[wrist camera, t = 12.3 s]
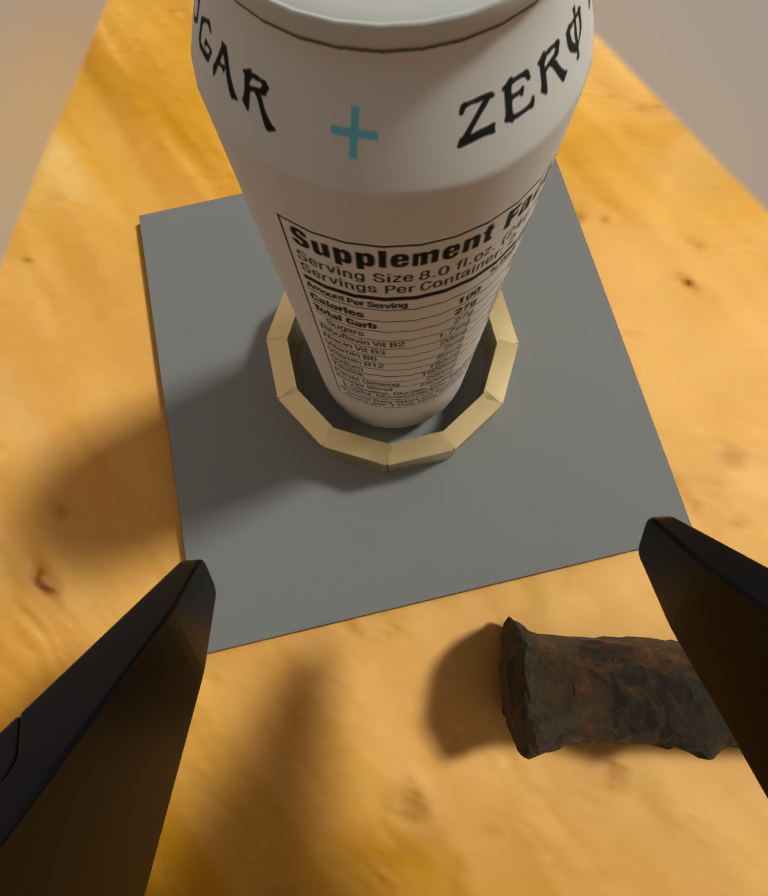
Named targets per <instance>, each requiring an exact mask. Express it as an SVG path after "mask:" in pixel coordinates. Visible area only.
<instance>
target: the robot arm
mask: <svg viewBox="0 0 768 896" xmlns="http://www.w3.org/2000/svg"><path fill="white" fill-rule="evenodd" d="M639 556H640V559H641V561H642V564H643V566H644V568H645V571H646V573H647V575H648V577H649V580H650V582H651V584H652V587H653V589H654V591H655V593H656V596H657V598H658V600H659V603H660V605H661V607H662V609H663V612H664V614H665V616H666V618H667V620H668V623H669V625H670V627H671V629H672V631H673V632H674V634H675V636H676V638H677V640H678V642H679V643H680V645H681V647H682V649H683V650H684V652H685V654H686V656H687V657H688V659H689V661H690V663H691V664H692V666H693V668H694V670H695V671H696V673H697V675H698V677H699V678H700V680H701V682H702V684H703V685H704V687H705V689H706V691H707V693H708V694H709V696H710V698H711V700H712V701H713V703H714V705H715V707H716V708H717V710H718V712H719V714H720V715H721V717H722V719H723V721H724V722H725V724H726V726H727V728H728V729H729V731H730V733H731V735H732V736H733V738H734V740H735V742H736V743H737V745H738V747H739V749H740V751H741V752H742V754H743V756H744V758H745V759H746V761H747V763H748V765H749V766H750V768H751V770H752V772H753V773H754V775H755V777H756V779H757V780H758V782H759V784H760V786H761V787H762V789H763V791H764V793H765V794H766V796H767V798H768V568H767V567H765V566H763V565H761V564H760V563H758V562H756V561H754V560H752V559H750V558H748V557H747V556H745V555H743V554H741V553H739V552H737V551H735V550H734V549H732V548H730V547H728V546H726V545H724V544H723V543H721V542H719V541H717V540H715V539H713V538H711V537H710V536H708V535H706V534H704V533H702V532H700V531H699V530H697V529H695V528H693V527H691V526H689V525H687V524H686V523H684V522H682V521H680V520H678V519H676V518H674V517H672V516H660V517H651V518H649V519H648V520H647V522H646V524H645V527H644V531H643V534H642V537H641V540H640V544H639ZM215 599H216V589H215V585H214V582H213V580H212V578H211V575H210V573H209V570H208V568H207V566H206V564H205V562H204V561H203V560H201V559H196V560H185V561H182V562H180V563H179V564H178V565H177V566H176V567H175V568H173V569H172V570H171V571H170V572H169V573H168V574H167V575H166V576H165V577H164V578H163V579H162V580H161V581H160V582H159V583H158V584H157V585H156V586H155V587H153V588H152V589H151V590H150V591H149V592H148V593H147V594H146V595H145V596H144V597H143V598H142V599H141V600H140V601H139V602H138V603H137V604H136V605H135V606H133V607H132V608H131V609H130V610H129V611H128V612H127V613H126V614H125V615H124V616H123V617H122V618H121V619H120V620H119V621H118V622H117V623H116V624H115V625H113V626H112V627H111V628H110V629H109V630H108V631H107V632H106V633H105V634H104V635H103V636H102V637H101V638H100V639H99V640H98V641H97V642H96V643H95V644H93V645H92V646H91V647H90V648H89V649H88V650H87V651H86V652H85V653H84V654H83V655H82V656H81V657H80V658H79V659H78V660H77V661H76V662H75V663H73V664H72V665H71V666H70V667H69V668H68V669H67V670H66V671H65V672H64V673H63V674H62V675H61V676H60V677H59V678H58V679H57V680H56V681H55V682H53V683H52V684H51V685H50V686H49V687H48V688H47V689H46V690H45V691H44V692H43V693H42V694H41V695H40V696H39V697H38V698H37V699H36V700H35V701H33V702H32V703H31V704H30V705H29V706H28V707H27V708H26V709H25V710H24V711H23V712H22V713H21V716H20V717H17V718H15V719H14V720H13V721H12V722H11V723H10V724H9V725H8V726H7V727H6V728H5V729H4V730H3V731H2V732H1V733H0V896H144V895H145V891H146V888H147V884H148V880H149V877H150V873H151V869H152V865H153V862H154V858H155V854H156V850H157V847H158V843H159V839H160V835H161V832H162V828H163V824H164V820H165V817H166V813H167V809H168V805H169V802H170V798H171V794H172V790H173V787H174V783H175V779H176V776H177V772H178V768H179V764H180V761H181V757H182V753H183V749H184V746H185V742H186V738H187V734H188V731H189V727H190V723H191V719H192V716H193V712H194V708H195V704H196V701H197V697H198V693H199V689H200V686H201V682H202V678H203V674H204V669H205V664H206V658H207V651H208V645H209V638H210V632H211V625H212V619H213V612H214V606H215Z"/></svg>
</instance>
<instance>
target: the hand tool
mask: <svg viewBox="0 0 768 896" xmlns="http://www.w3.org/2000/svg"><path fill="white" fill-rule="evenodd" d="M500 684H501V694H502V702H503V706H502V713H503V715H504V716H505V717H506V723H507V727H508V729H509V731H510V733H511V735H512V738H513V740H514V742H515V744H516V747H517V750H518V751H519V753H520V754H521V755H522V756H523V757H525V758H527V759H531V758H534V757H536V756H539V755H541V754H543V753H546V752H553V751H556V750H559V749H560V748H562V747H563V746H564V745H565V744H570V743H575V742H608V743H616V744H623V743H639V744H650V745H654V746H657V747H661V748H665V749H671V748H674V747H676V748H679V749H681V750H685V751H687V752H689V753H690V754H692V755H694V756H696V757H698V758H701V759H706V760H711V759H714V758H715V757H716V755H717V754H718V753H719V752H720V751H721V750H722V749H726V748H729V747H734V748H739V747H738V745H737V743H736V742H735V740H734V738H733V736H732V735H731V733H730V731H729V729H728V728H727V726H726V724H725V722H724V721H723V719H722V717H721V715H720V714H719V712H718V710H717V708H716V707H715V705H714V703H713V701H712V700H711V698H710V696H709V694H708V693H707V691H706V689H705V687H704V685H703V684H702V682H701V680H700V678H699V677H698V675H697V673H696V671H695V670H694V668H693V666H692V664H691V663H690V661H689V659H688V657H687V656H686V654H685V652H684V650H683V649H682V647H681V645H680V643H679V642H678V641H674V640H666V641H664V640H659V639H653V638H643V637H628V636H627V637H620V638H618V637H605V636H603V637H598V638H586V637H566V636H557V635H547V634H536V633H534V632H531V631H528V630H527V629H526V628H525V627H524V626H523V625H522V624H520V623H519V622H517V621H514V620H513V619H512V618H511V617H508V618H507V620H506V621H505V622H504V624H503V631H502V635H501V659H500Z"/></svg>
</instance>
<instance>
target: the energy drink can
mask: <svg viewBox="0 0 768 896" xmlns="http://www.w3.org/2000/svg"><path fill="white" fill-rule="evenodd" d="M593 36H594V18H593V9H592V0H194V8H193V23H192V43H191V57H192V62H193V66H194V71H195V76H196V81H197V86H198V89H199V91H200V94H201V96H202V98H203V101H204V103H205V105H206V108H207V110H208V112H209V115H210V117H211V119H212V122H213V124H214V126H215V129H216V131H217V133H218V136H219V138H220V140H221V143H222V145H223V147H224V150H225V152H226V154H227V157H228V159H229V161H230V164H231V166H232V168H233V171H234V173H235V175H236V178H237V180H238V182H239V185H240V187H241V189H242V192H243V194H244V196H245V199H246V201H247V203H248V206H249V208H250V210H251V213H252V215H253V217H254V220H255V222H256V224H257V227H258V229H259V231H260V234H261V236H262V238H263V241H264V243H265V245H266V248H267V250H268V252H269V255H270V257H271V259H272V262H273V264H274V266H275V269H276V271H277V273H278V276H279V278H280V280H281V283H282V285H283V287H284V290H285V292H286V294H287V297H288V299H289V301H290V304H291V306H292V308H293V311H294V313H295V315H296V318H297V320H298V322H299V325H300V327H301V329H302V332H303V334H304V336H305V339H306V341H307V343H308V346H309V348H310V350H311V353H312V355H313V357H314V359H315V362H316V364H317V366H318V369H319V371H320V373H321V376H322V378H323V380H324V383H325V385H326V387H327V389H328V391H329V393H330V395H331V396H332V398H333V399H334V400H335V402H336V403H337V404H338V405H339V406H340V407H341V408H342V409H343V410H344V411H346V412H347V413H348V414H349V415H351V416H352V417H354V418H356V419H358V420H359V421H361V422H364V423H367V424H370V425H373V426H377V427H384V428H404V427H408V426H412V425H416V424H419V423H422V422H424V421H426V420H428V419H430V418H432V417H434V416H435V415H436V414H438V413H439V412H440V411H442V410H443V409H444V408H445V407H446V406H447V405H448V404H449V403H450V401H451V400H452V399H453V398H454V396H455V394H456V393H457V391H458V389H459V388H460V386H461V383H462V381H463V378H464V376H465V374H466V371H467V369H468V366H469V364H470V362H471V359H472V357H473V354H474V352H475V349H476V347H477V345H478V342H479V340H480V337H481V335H482V333H483V330H484V328H485V325H486V323H487V321H488V318H489V316H490V313H491V311H492V308H493V306H494V304H495V301H496V299H497V296H498V294H499V292H500V289H501V287H502V284H503V282H504V279H505V277H506V275H507V272H508V270H509V267H510V265H511V263H512V260H513V258H514V255H515V253H516V251H517V248H518V246H519V243H520V241H521V238H522V236H523V234H524V231H525V229H526V226H527V224H528V222H529V219H530V217H531V214H532V212H533V210H534V207H535V205H536V202H537V200H538V197H539V195H540V193H541V190H542V188H543V185H544V183H545V181H546V178H547V176H548V173H549V171H550V169H551V166H552V164H553V161H554V159H555V156H556V154H557V152H558V149H559V147H560V144H561V142H562V140H563V137H564V135H565V132H566V130H567V128H568V125H569V123H570V120H571V118H572V115H573V113H574V111H575V108H576V106H577V103H578V101H579V99H580V96H581V94H582V91H583V88H584V85H585V82H586V79H587V75H588V72H589V69H590V66H591V63H592V51H593Z"/></svg>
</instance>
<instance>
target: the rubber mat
mask: <svg viewBox="0 0 768 896" xmlns="http://www.w3.org/2000/svg"><path fill="white" fill-rule="evenodd" d="M139 220H140V227H141V234H142V242H143V249H144V256H145V264H146V271H147V278H148V286H149V293H150V300H151V307H152V315H153V322H154V329H155V337H156V344H157V351H158V359H159V366H160V373H161V380H162V388H163V395H164V402H165V410H166V417H167V424H168V432H169V439H170V446H171V453H172V461H173V468H174V475H175V483H176V490H177V497H178V505H179V512H180V519H181V526H182V534H183V541H184V548H185V556H186V560H196V559H201V560H203V561H204V562H205V564H206V566H207V568H208V570H209V573H210V575H211V578H212V580H213V582H214V585H215V589H216V599H215V606H214V612H213V619H212V625H211V632H210V638H209V645H208V651H207V653H209V652H214V651H218V650H222V649H226V648H230V647H234V646H238V645H243V644H247V643H251V642H255V641H259V640H263V639H267V638H272V637H276V636H280V635H284V634H288V633H292V632H296V631H300V630H305V629H309V628H313V627H317V626H321V625H325V624H329V623H334V622H338V621H342V620H346V619H350V618H354V617H358V616H363V615H367V614H371V613H375V612H379V611H383V610H387V609H391V608H396V607H400V606H404V605H408V604H412V603H416V602H420V601H425V600H429V599H433V598H437V597H441V596H445V595H449V594H454V593H458V592H462V591H466V590H470V589H474V588H478V587H482V586H487V585H491V584H495V583H499V582H503V581H507V580H511V579H516V578H520V577H524V576H528V575H532V574H536V573H540V572H545V571H549V570H553V569H557V568H561V567H565V566H569V565H573V564H578V563H582V562H586V561H590V560H594V559H598V558H602V557H607V556H611V555H615V554H619V553H623V552H627V551H631V550H635V549H639V544H640V540H641V537H642V534H643V531H644V527H645V524H646V522H647V520H648V519H649V518H651V517H660V516H672V517H674V518H676V519H678V520H680V521H682V522H684V523H686V524H687V525H689V526H691V523H690V520H689V517H688V515H687V512H686V509H685V507H684V504H683V501H682V499H681V496H680V493H679V491H678V488H677V485H676V482H675V480H674V477H673V474H672V472H671V469H670V466H669V464H668V461H667V458H666V455H665V453H664V450H663V447H662V445H661V442H660V439H659V437H658V434H657V431H656V428H655V426H654V423H653V420H652V418H651V415H650V412H649V410H648V407H647V404H646V401H645V399H644V396H643V393H642V391H641V388H640V385H639V383H638V380H637V377H636V374H635V372H634V369H633V366H632V364H631V361H630V358H629V356H628V353H627V350H626V347H625V345H624V342H623V339H622V337H621V334H620V331H619V329H618V326H617V323H616V320H615V318H614V315H613V312H612V310H611V307H610V304H609V302H608V299H607V296H606V294H605V291H604V288H603V285H602V283H601V280H600V277H599V275H598V272H597V269H596V267H595V264H594V261H593V258H592V256H591V253H590V250H589V248H588V245H587V242H586V240H585V237H584V234H583V231H582V229H581V226H580V223H579V221H578V218H577V215H576V213H575V210H574V207H573V204H572V202H571V199H570V196H569V194H568V191H567V188H566V186H565V183H564V180H563V177H562V175H561V172H560V169H559V167H558V164H557V161H556V159H554V161H553V164H552V166H551V169H550V171H549V173H548V176H547V178H546V181H545V183H544V185H543V188H542V190H541V193H540V195H539V197H538V200H537V202H536V205H535V207H534V210H533V212H532V214H531V217H530V219H529V222H528V224H527V226H526V229H525V231H524V234H523V236H522V238H521V241H520V243H519V246H518V248H517V251H516V253H515V255H514V258H513V260H512V263H511V265H510V267H509V270H508V272H507V275H506V277H505V279H504V282H503V284H502V287H501V290H502V293H503V296H504V299H505V302H506V306H507V309H508V312H509V315H510V318H511V321H512V324H513V328H514V331H515V334H516V337H517V340H518V348H517V352H516V356H515V359H514V363H513V367H512V371H511V375H510V379H509V382H508V386H507V390H506V394H505V398H504V401H503V404H502V406H501V407H500V408H499V410H498V411H497V412H496V413H495V415H494V416H493V417H492V419H491V420H490V421H489V422H488V423H486V424H485V425H484V426H483V427H482V428H481V429H480V430H479V431H478V432H477V433H476V434H475V435H474V436H473V437H472V438H471V439H470V440H469V441H467V442H466V443H465V444H464V445H463V446H462V447H461V448H460V449H459V450H458V451H457V452H456V453H455V454H454V455H453V456H452V457H451V458H450V459H449V458H448V460H444V461H440V462H436V463H432V464H427V465H423V466H419V467H414V468H410V469H406V470H402V471H397V472H393V473H389V471H388V473H384V472H381V471H377V470H374V469H371V468H367V467H364V466H361V465H357V464H354V463H351V462H347V461H344V460H340V459H337V458H334V457H330V456H329V455H328V454H327V453H326V452H325V451H324V450H323V449H322V448H321V447H320V446H319V445H318V443H317V442H316V441H315V440H314V439H313V438H312V437H311V436H310V435H309V434H308V433H307V432H306V431H305V429H304V428H303V427H302V426H301V425H300V424H299V423H298V422H297V421H296V420H295V419H294V418H293V417H292V415H291V414H290V413H289V412H288V411H287V410H286V408H285V407H284V406H283V405H282V403H281V402H280V401H279V400H278V397H277V392H276V387H275V382H274V377H273V371H272V366H271V361H270V356H269V351H268V345H267V340H266V339H267V335H268V332H269V330H270V327H271V324H272V322H273V319H274V317H275V314H276V311H277V309H278V306H279V303H280V301H281V298H282V296H283V293H284V287H283V285H282V283H281V280H280V278H279V276H278V273H277V271H276V269H275V266H274V264H273V262H272V259H271V257H270V255H269V252H268V250H267V248H266V245H265V243H264V241H263V238H262V236H261V234H260V231H259V229H258V227H257V224H256V222H255V220H254V217H253V215H252V213H251V210H250V208H249V206H248V203H247V201H246V199H245V196H244V194H238V195H233V196H229V197H224V198H219V199H215V200H210V201H206V202H201V203H196V204H192V205H187V206H183V207H178V208H173V209H169V210H164V211H159V212H155V213H150V214H146V215H141V216H139ZM298 364H299V369H300V374H301V379H302V384H303V388H304V393H305V398H306V399H307V400H308V401H309V402H310V403H311V404H312V405H313V406H314V407H315V408H316V410H317V411H318V412H319V413H320V414H321V415H322V416H323V417H324V418H325V419H326V420H327V421H328V422H329V423H330V424H331V425H332V426H333V428H336V429H339V430H343V431H346V432H349V433H353V434H356V435H360V436H363V437H367V438H370V439H374V440H377V441H380V442H384V443H387V444H389V443H393V442H398V441H402V440H406V439H411V438H415V437H419V436H424V435H428V434H432V433H436V432H441V431H444V430H445V429H446V428H447V427H448V426H449V425H450V424H451V423H453V422H454V421H455V420H456V419H457V418H458V417H459V416H460V415H461V414H462V413H463V412H464V411H465V410H466V409H467V408H469V407H470V406H471V405H472V404H473V403H474V402H475V401H476V400H477V398H478V395H479V391H480V387H481V384H482V380H483V376H484V373H485V369H486V365H487V361H486V358H485V354H484V351H483V348H482V344H481V341H480V340H479V342H478V345H477V347H476V349H475V352H474V354H473V357H472V359H471V362H470V364H469V366H468V369H467V371H466V374H465V376H464V378H463V381H462V383H461V386H460V388H459V389H458V391H457V393H456V394H455V396H454V398H453V399H452V400H451V401H450V403H449V404H448V405H447V406H446V407H445V408H444V409H443V410H442V411H440V412H439V413H438V414H436V415H435V416H434V417H432V418H430V419H428V420H426V421H424V422H422V423H419V424H416V425H412V426H408V427H404V428H384V427H377V426H373V425H370V424H367V423H364V422H361V421H359V420H358V419H356V418H354V417H352V416H351V415H349V414H348V413H347V412H346V411H344V410H343V409H342V408H341V407H340V406H339V405H338V404H337V403H336V402H335V400H334V399H333V398H332V396H331V395H330V393H329V391H328V389H327V387H326V385H325V383H324V380H323V378H322V376H321V373H320V371H319V369H318V366H317V364H316V362H315V359H314V357H313V355H312V353H311V350H310V348H309V346H308V343H307V341H306V339H304V342H303V345H302V348H301V350H300V353H299V356H298ZM691 527H692V526H691Z"/></svg>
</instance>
